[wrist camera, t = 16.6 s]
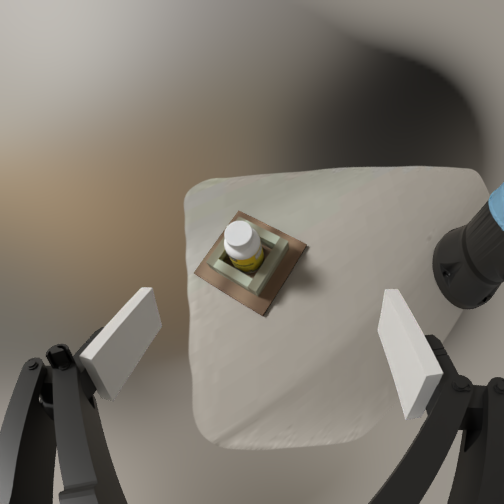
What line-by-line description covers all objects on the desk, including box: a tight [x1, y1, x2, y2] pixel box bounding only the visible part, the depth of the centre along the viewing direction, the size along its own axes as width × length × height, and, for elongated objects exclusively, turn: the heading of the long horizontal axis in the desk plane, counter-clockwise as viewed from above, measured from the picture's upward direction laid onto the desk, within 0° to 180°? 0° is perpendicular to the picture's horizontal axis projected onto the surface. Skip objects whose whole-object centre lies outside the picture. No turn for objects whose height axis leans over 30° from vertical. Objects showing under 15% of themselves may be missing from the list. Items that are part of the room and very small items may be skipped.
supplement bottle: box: [224, 221, 264, 273], centre depth 44 cm, size 5×5×10 cm
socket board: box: [194, 211, 307, 316], centre depth 48 cm, size 14×14×4 cm
